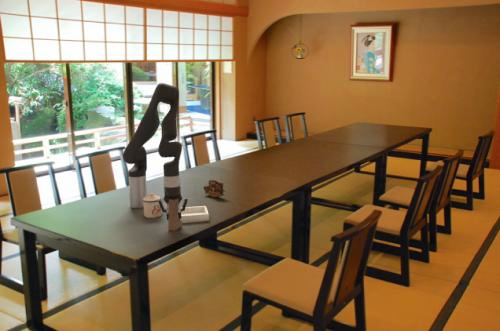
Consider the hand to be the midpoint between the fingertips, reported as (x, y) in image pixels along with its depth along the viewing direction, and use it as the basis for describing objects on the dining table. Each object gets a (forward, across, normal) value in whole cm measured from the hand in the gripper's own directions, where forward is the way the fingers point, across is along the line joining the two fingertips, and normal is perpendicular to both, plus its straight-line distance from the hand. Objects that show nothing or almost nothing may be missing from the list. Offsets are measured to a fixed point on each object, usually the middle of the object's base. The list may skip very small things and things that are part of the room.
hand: (174, 219), depth 232 cm
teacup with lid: (+4, +9, -24) cm, 26 cm away
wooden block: (+4, 0, 0) cm, 4 cm away
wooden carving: (+5, -25, -48) cm, 54 cm away
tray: (+4, -10, -14) cm, 18 cm away
